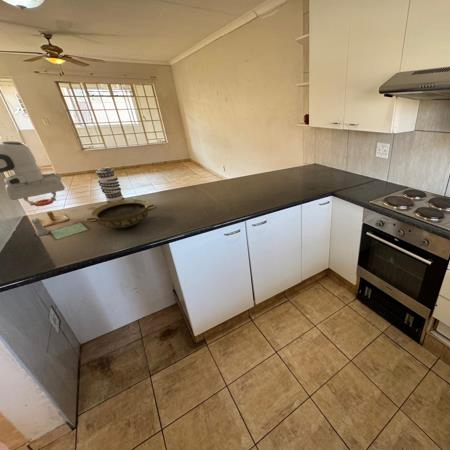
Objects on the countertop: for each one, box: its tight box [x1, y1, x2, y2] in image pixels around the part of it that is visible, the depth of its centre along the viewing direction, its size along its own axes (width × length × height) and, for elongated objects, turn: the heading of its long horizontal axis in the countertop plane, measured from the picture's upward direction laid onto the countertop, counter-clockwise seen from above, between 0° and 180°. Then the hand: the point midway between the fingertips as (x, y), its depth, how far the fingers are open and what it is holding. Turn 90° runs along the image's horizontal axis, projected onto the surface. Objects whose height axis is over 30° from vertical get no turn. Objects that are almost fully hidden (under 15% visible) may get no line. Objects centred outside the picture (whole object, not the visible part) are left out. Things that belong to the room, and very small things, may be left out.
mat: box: [50, 222, 89, 240], centre depth 121 cm, size 12×12×1 cm
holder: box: [40, 210, 69, 228], centre depth 129 cm, size 10×10×6 cm
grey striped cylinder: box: [95, 166, 125, 204], centre depth 138 cm, size 9×9×25 cm
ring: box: [33, 198, 54, 207], centre depth 125 cm, size 7×7×1 cm
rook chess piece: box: [30, 217, 50, 237], centre depth 117 cm, size 4×4×8 cm
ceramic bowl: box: [84, 198, 157, 229], centre depth 124 cm, size 30×24×10 cm
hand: (43, 202), depth 125 cm, fingers closed on ring, 7 cm apart
